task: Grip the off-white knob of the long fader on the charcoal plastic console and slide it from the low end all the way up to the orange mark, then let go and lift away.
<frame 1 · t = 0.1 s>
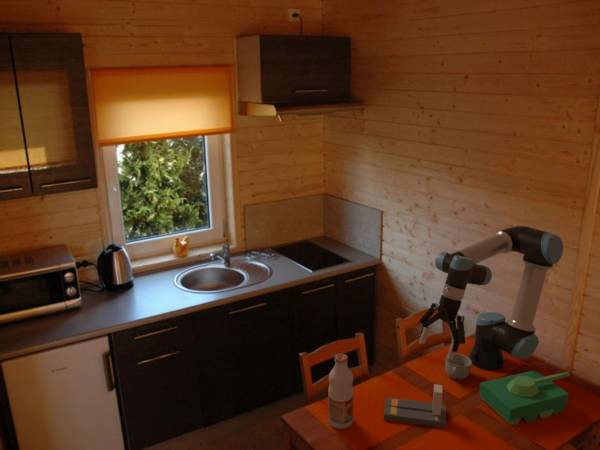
hand: (435, 351, 200), 28 cm above the table, tool tilted 20°, fingers open, 13 cm apart
fruit juice: (340, 421, 205), on the table
teacup: (455, 377, 232), on the table
fader: (437, 399, 204), point 8 cm above the table, slide at 0.0 cm
console: (414, 414, 208), on the table
toy tank: (529, 405, 214), on the table
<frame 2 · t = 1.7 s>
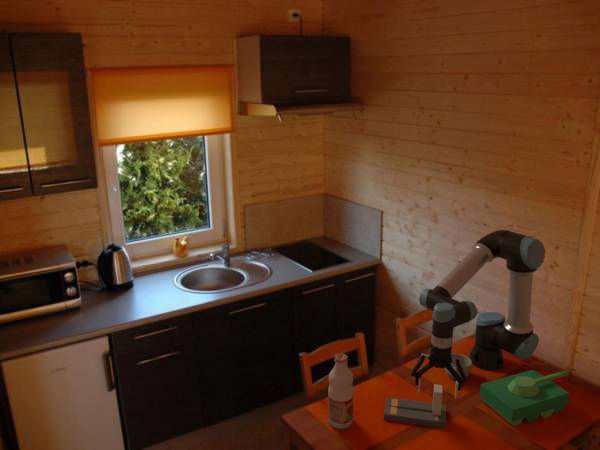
hand: (437, 394, 203), 10 cm above the table, tool pointing down, fingers open, 13 cm apart
nothing on the table moved.
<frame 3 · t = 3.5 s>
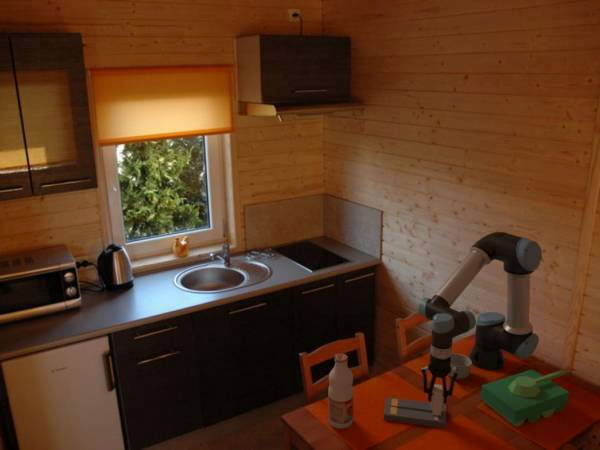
hand: (436, 408, 205), 4 cm above the table, tool pointing down, fingers closed on fader, 3 cm apart
fader: (437, 399, 204), point 8 cm above the table, slide at 0.0 cm, touching gripper
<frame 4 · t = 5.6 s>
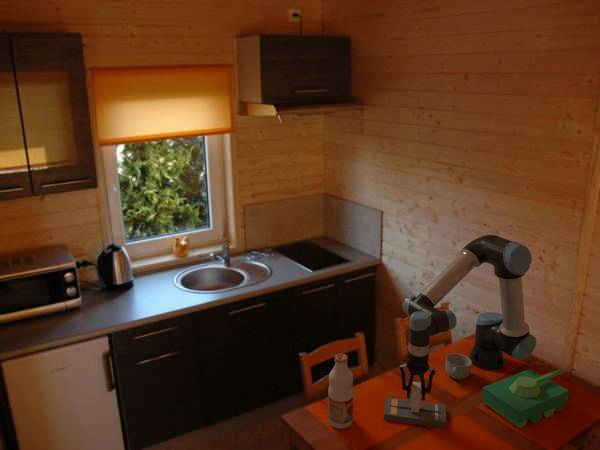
hand: (415, 405, 207), 4 cm above the table, tool pointing down, fingers closed on fader, 3 cm apart
fader: (415, 397, 206), point 8 cm above the table, slide at 8.0 cm, touching gripper
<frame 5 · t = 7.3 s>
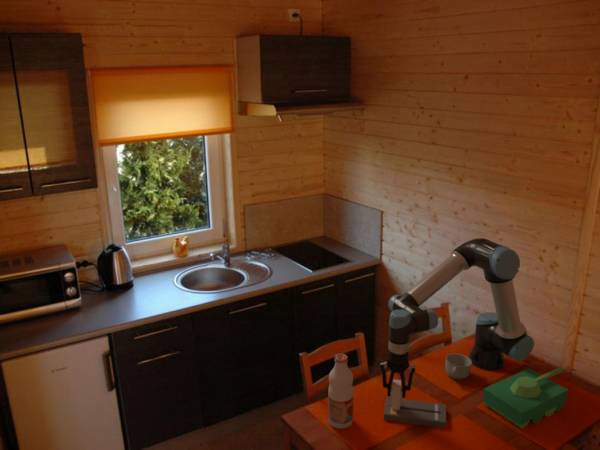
hand: (396, 403, 209), 4 cm above the table, tool pointing down, fingers closed on fader, 3 cm apart
fader: (396, 394, 208), point 8 cm above the table, slide at 15.3 cm, touching gripper
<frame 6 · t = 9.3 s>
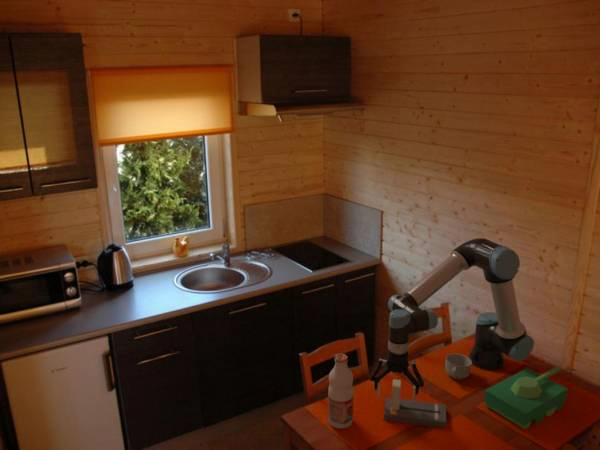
hand: (395, 398, 208), 6 cm above the table, tool pointing down, fingers open, 13 cm apart
fader: (396, 394, 208), point 8 cm above the table, slide at 15.5 cm
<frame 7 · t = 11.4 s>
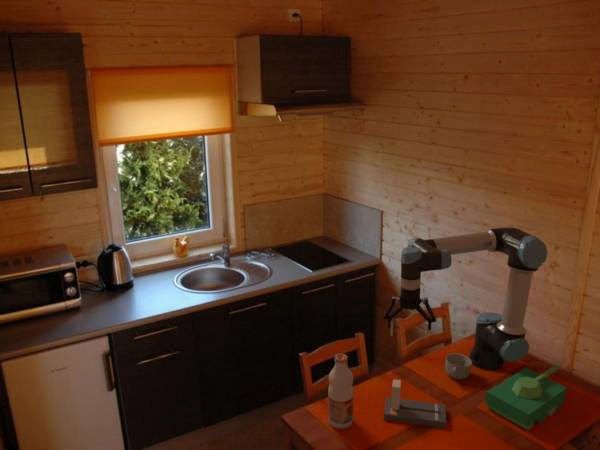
hand: (409, 335, 214), 26 cm above the table, tool pointing down, fingers open, 13 cm apart
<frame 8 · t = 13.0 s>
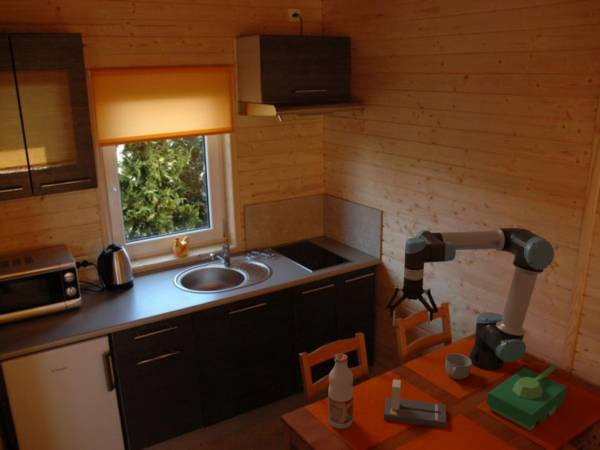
hand: (410, 325, 217), 29 cm above the table, tool pointing down, fingers open, 13 cm apart
at the end: fader slide at 15.5 cm; teacup moved 0.3 cm from its start; toy tank moved 0.8 cm from its start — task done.
